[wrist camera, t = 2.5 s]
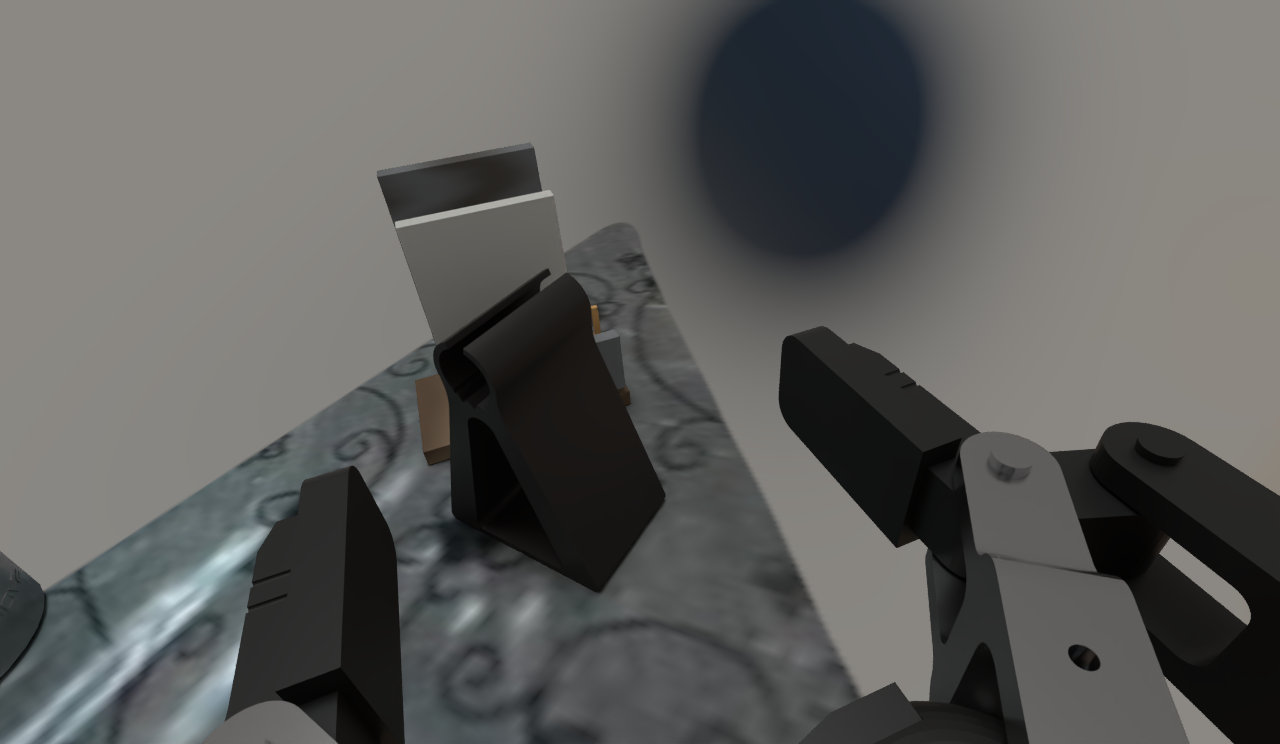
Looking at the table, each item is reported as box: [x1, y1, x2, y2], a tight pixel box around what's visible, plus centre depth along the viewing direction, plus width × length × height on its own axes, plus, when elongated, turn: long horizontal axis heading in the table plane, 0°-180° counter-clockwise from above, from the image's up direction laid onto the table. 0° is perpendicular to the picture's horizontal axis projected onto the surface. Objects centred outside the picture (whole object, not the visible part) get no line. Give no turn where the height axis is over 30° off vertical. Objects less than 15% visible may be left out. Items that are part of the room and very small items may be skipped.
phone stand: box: [433, 268, 665, 592], centre depth 26 cm, size 9×6×12 cm, turn 58°
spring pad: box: [395, 190, 625, 389], centre depth 31 cm, size 9×1×12 cm, turn 110°
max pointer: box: [591, 305, 601, 334], centre depth 35 cm, size 1×1×5 cm
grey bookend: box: [377, 143, 631, 465], centre depth 33 cm, size 12×7×14 cm, turn 110°
